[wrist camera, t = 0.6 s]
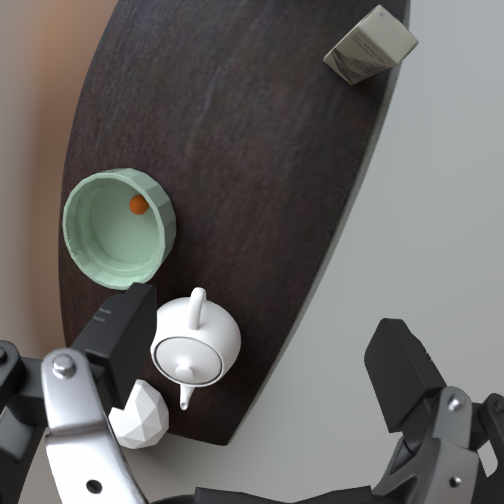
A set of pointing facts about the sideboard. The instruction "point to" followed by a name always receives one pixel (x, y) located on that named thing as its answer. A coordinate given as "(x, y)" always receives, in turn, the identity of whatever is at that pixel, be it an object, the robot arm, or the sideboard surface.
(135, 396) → the geometric shape
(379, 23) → the box
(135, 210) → the ball
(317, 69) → the sideboard surface
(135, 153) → the sideboard surface
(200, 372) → the teapot
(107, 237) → the bowl
